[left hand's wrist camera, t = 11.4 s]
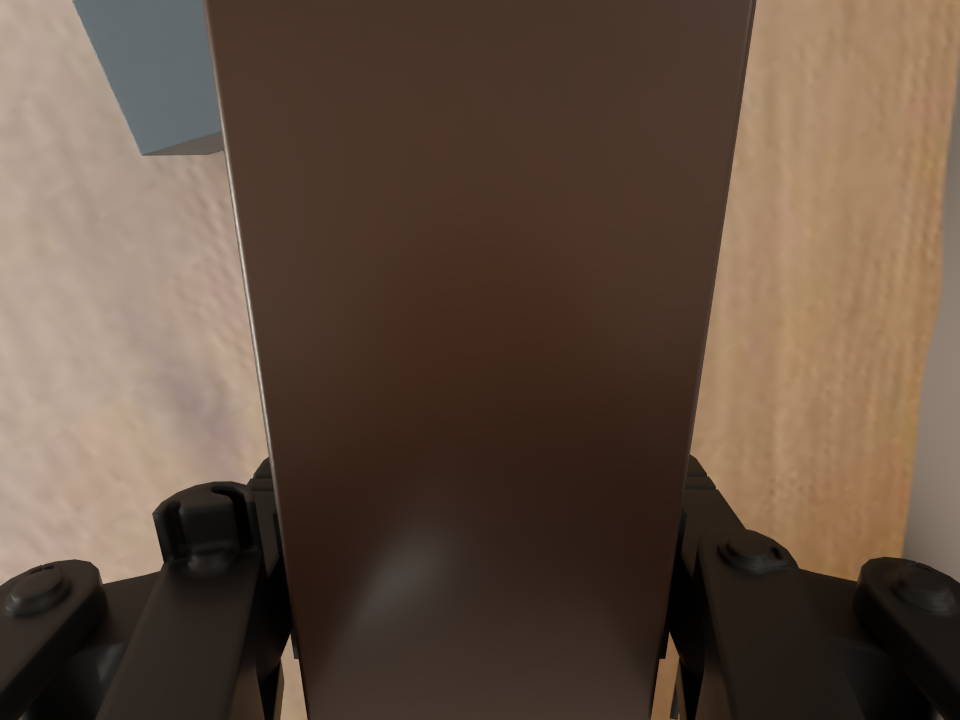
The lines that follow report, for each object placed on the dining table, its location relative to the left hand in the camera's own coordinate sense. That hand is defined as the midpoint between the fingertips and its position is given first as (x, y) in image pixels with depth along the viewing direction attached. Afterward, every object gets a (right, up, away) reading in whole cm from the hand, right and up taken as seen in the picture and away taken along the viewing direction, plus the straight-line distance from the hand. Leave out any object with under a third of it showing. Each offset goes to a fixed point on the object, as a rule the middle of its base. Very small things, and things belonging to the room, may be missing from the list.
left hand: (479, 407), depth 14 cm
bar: (0, +9, -3) cm, 9 cm away
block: (-10, +13, +9) cm, 18 cm away
